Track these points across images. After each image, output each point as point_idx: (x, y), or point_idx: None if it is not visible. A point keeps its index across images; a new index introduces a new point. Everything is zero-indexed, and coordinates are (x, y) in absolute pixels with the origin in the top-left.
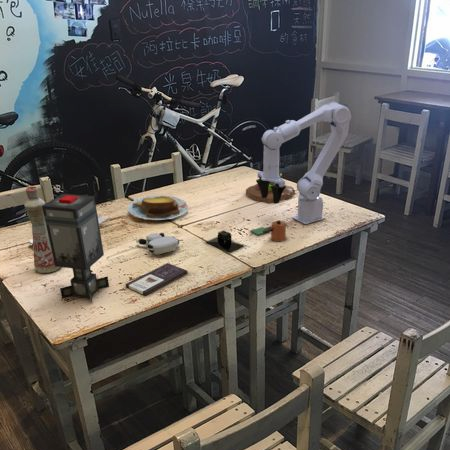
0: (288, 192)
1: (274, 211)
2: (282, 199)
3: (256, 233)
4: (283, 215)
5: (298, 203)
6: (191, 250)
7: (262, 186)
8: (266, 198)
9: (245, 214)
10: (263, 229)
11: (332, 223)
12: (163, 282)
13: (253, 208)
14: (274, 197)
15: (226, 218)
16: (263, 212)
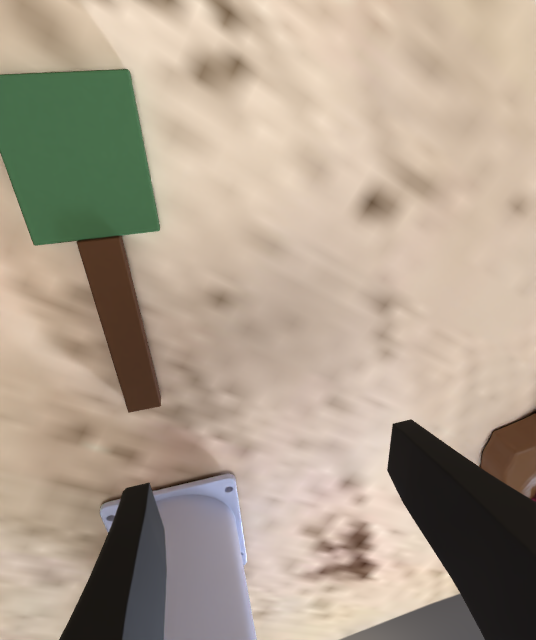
0: None
1: (385, 420)
2: None
3: (8, 80)
4: (304, 442)
5: (202, 608)
6: None
7: (526, 583)
8: (528, 442)
9: (474, 240)
10: (97, 209)
11: (63, 608)
12: None
13: (506, 333)
14: (86, 592)
15: (530, 42)
16: (417, 361)
